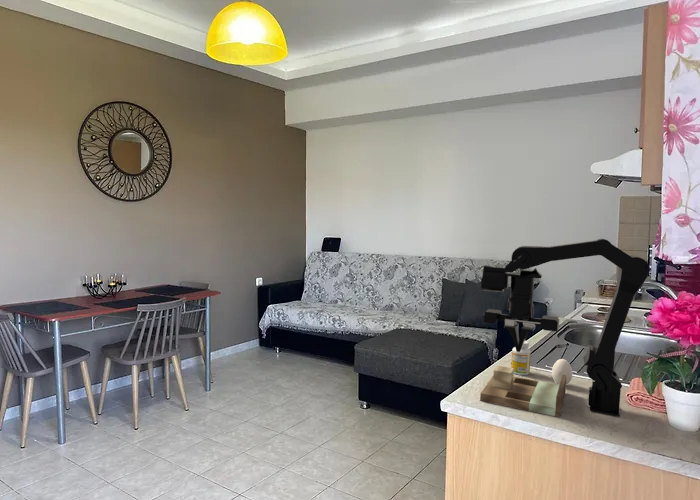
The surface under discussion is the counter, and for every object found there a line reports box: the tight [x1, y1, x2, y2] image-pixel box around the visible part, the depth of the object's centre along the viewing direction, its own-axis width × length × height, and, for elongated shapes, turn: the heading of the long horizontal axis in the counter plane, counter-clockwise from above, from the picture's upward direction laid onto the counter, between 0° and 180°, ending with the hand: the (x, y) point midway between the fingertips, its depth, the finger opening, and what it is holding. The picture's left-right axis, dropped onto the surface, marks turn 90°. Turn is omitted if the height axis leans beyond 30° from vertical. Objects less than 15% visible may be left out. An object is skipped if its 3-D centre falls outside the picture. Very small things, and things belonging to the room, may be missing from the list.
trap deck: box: [479, 375, 567, 418], centre depth 126 cm, size 19×18×5 cm
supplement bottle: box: [510, 340, 532, 376], centre depth 146 cm, size 5×5×10 cm
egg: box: [551, 358, 573, 386], centre depth 136 cm, size 5×5×8 cm
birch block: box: [492, 365, 515, 390], centre depth 129 cm, size 4×4×4 cm
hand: (518, 351), depth 127 cm, fingers closed
